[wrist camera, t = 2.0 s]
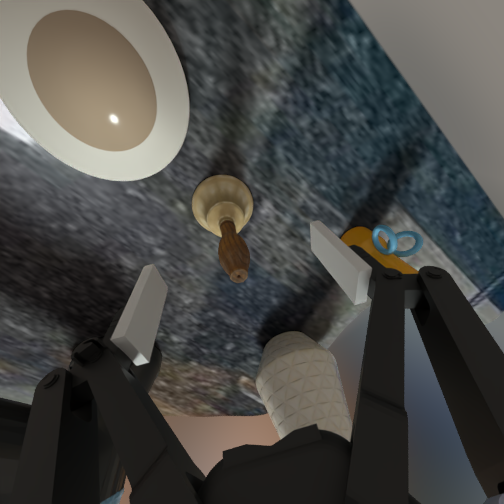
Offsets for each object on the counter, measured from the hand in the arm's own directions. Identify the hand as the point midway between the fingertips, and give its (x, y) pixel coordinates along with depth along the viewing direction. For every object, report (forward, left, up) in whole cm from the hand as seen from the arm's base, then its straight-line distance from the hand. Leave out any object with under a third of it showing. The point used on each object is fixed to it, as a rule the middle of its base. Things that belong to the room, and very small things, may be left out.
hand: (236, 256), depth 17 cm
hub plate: (-8, +14, -13) cm, 21 cm away
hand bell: (0, 0, -13) cm, 13 cm away
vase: (+5, -37, -13) cm, 40 cm away
